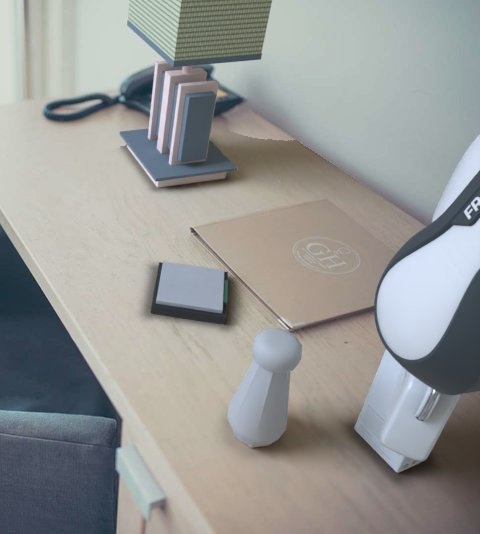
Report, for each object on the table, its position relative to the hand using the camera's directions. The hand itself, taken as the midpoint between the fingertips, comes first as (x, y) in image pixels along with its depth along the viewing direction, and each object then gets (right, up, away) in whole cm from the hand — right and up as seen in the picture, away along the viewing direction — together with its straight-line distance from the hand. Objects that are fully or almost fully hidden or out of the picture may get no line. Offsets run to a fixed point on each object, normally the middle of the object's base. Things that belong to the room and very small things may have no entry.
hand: (401, 413), depth 61 cm
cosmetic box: (0, -4, +3) cm, 5 cm away
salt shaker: (-13, -3, +4) cm, 14 cm away
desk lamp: (-15, +32, +48) cm, 59 cm away
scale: (-17, +10, +20) cm, 28 cm away
